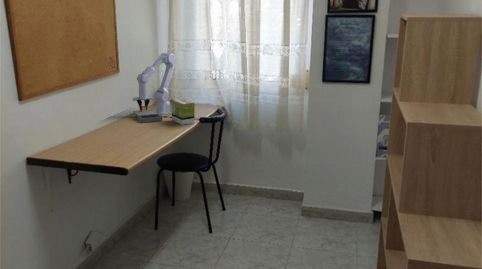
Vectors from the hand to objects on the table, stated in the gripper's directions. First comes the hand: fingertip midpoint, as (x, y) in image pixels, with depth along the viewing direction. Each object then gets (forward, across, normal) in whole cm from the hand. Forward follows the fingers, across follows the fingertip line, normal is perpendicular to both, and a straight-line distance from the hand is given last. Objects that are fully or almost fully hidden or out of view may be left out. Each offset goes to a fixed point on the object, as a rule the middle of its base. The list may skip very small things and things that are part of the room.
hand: (143, 110), depth 319 cm
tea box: (+5, +19, -26) cm, 33 cm away
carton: (+4, 0, -12) cm, 13 cm away
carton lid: (+1, 0, -5) cm, 5 cm away
